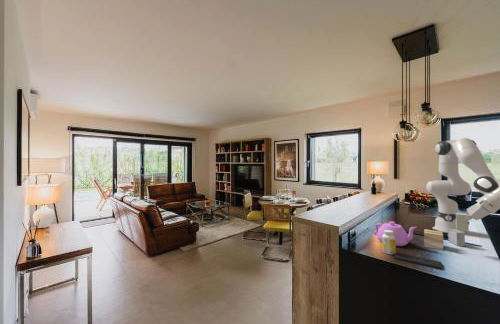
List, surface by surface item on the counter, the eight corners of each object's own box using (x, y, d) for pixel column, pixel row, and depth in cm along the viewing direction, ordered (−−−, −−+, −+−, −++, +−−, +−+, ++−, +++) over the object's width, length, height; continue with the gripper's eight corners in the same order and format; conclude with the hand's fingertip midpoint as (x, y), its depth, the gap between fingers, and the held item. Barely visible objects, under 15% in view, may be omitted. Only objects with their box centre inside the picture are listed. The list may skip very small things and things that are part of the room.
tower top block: (424, 235, 143) (424, 229, 143) (442, 238, 137) (442, 231, 137) (424, 239, 136) (424, 232, 136) (443, 242, 130) (443, 235, 130)
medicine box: (465, 246, 135) (465, 232, 135) (457, 246, 136) (456, 232, 136) (456, 242, 143) (455, 229, 143) (448, 241, 144) (448, 228, 144)
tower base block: (424, 242, 143) (424, 236, 143) (443, 246, 137) (442, 239, 137) (424, 246, 136) (424, 239, 136) (443, 250, 130) (443, 243, 130)
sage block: (456, 227, 131) (455, 212, 131) (467, 228, 128) (467, 213, 128) (456, 229, 127) (456, 214, 128) (468, 231, 124) (468, 215, 124)
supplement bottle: (396, 252, 128) (396, 230, 128) (394, 256, 123) (394, 233, 123) (383, 249, 132) (383, 228, 132) (381, 252, 127) (380, 231, 127)
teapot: (369, 240, 148) (368, 220, 148) (379, 235, 159) (378, 216, 159) (413, 252, 128) (412, 229, 128) (421, 244, 139) (421, 223, 139)
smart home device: (442, 267, 106) (393, 256, 119) (442, 271, 106) (393, 259, 119) (441, 261, 113) (395, 251, 126) (441, 264, 113) (395, 254, 126)
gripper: (478, 198, 130) (456, 212, 137) (483, 203, 115) (458, 218, 121) (489, 206, 127) (466, 220, 134) (496, 212, 112) (470, 227, 118)
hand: (462, 219), depth 128 cm, fingers closed on sage block, 5 cm apart
